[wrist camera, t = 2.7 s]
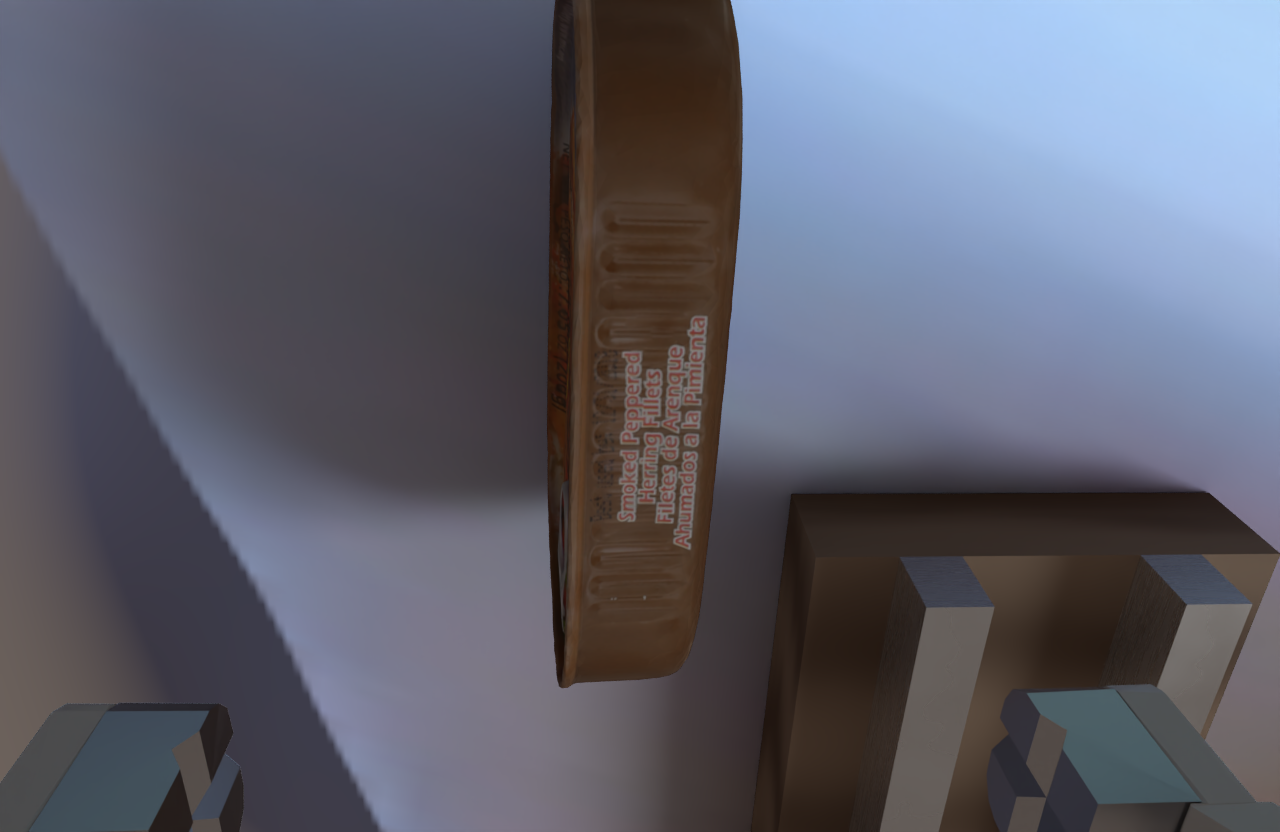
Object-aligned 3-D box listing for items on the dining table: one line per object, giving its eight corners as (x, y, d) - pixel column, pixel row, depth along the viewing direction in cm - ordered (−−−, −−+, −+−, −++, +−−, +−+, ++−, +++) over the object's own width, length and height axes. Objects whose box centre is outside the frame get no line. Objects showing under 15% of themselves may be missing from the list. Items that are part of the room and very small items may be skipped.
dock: (790, 494, 25) (836, 608, 21) (1208, 492, 26) (1338, 602, 22) (740, 921, 33) (764, 1069, 29) (1061, 910, 34) (1133, 1053, 30)
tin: (553, -71, 19) (534, -89, 12) (704, -61, 19) (782, -72, 12) (545, 538, 26) (529, 779, 18) (657, 540, 26) (688, 778, 18)
